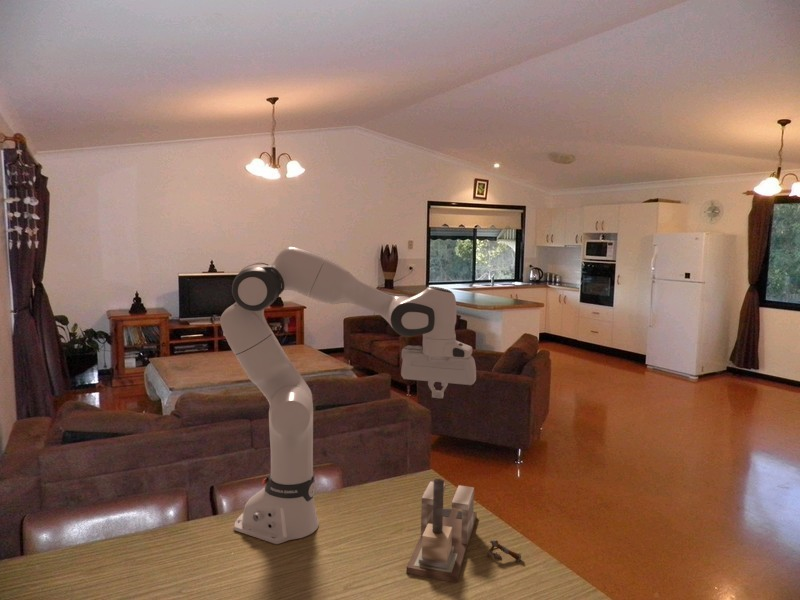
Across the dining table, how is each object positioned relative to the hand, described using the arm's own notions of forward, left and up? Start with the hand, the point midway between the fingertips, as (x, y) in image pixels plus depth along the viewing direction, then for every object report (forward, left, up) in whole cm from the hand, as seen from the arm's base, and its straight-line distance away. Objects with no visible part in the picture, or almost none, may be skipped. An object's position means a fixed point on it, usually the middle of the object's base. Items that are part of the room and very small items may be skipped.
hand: (437, 397), depth 151 cm
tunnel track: (+5, -11, -35) cm, 37 cm away
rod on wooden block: (+5, -20, -33) cm, 39 cm away
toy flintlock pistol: (+20, -13, -36) cm, 43 cm away
